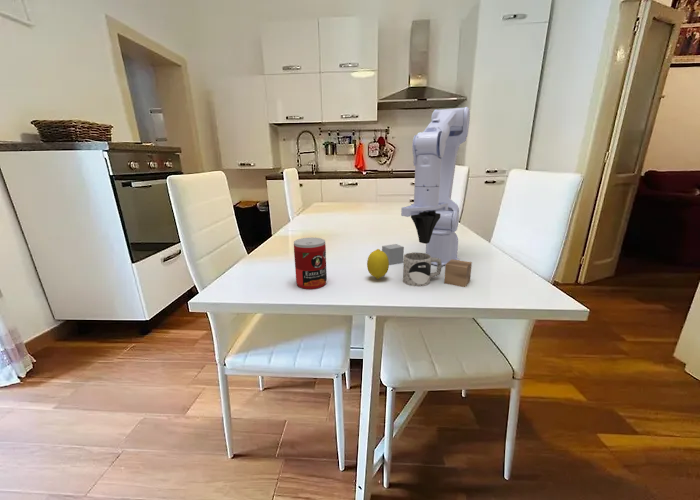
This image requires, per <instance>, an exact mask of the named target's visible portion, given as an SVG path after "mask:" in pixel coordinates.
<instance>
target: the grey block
mask: <svg viewBox="0 0 700 500" xmlns="http://www.w3.org/2000/svg"><path fill="white" fill-rule="evenodd" d="M404 248H405V247H404V246H403V245H400V244H398V243H393V244H386V245H382V246H381V251H383V252H384V253H385V254H386V255H387V257H388V261H389V266H393V265H399V264H404V255H405V254H404V250H405V249H404Z"/></svg>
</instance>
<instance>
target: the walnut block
mask: <svg viewBox="0 0 700 500" xmlns="http://www.w3.org/2000/svg"><path fill="white" fill-rule="evenodd" d="M472 264H473V262H472V261H466V260H460V259H459V260H454V259H451V260H450V261H449V262H448V263H447V264H446V265H444V266H445V267H444V268H445V269H444V284H447V285H451V286H456V287H462V288H466V287H467V285H468V284H469V283H470V282H471V277H472V275H471V274H472V267H473V266H472Z"/></svg>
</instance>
